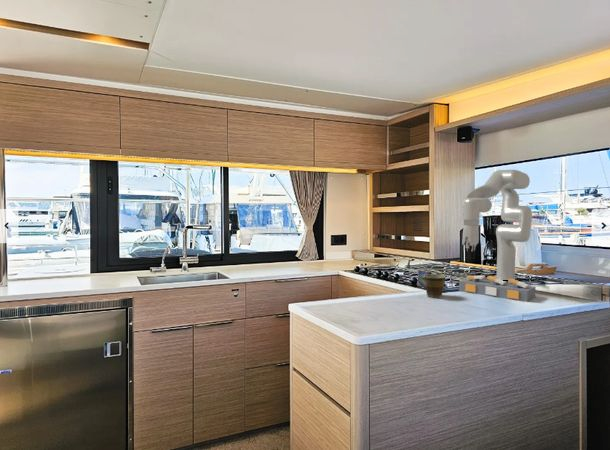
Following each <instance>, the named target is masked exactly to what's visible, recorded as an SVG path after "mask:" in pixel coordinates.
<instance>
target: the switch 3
mask: <svg viewBox="0 0 610 450" xmlns="http://www.w3.org/2000/svg"><path fill="white" fill-rule="evenodd" d="M507 283H512V284H515V285H518V286H521V287H524V288H527V287H528V286H529V284H527V283H525V282H522V281H519V280H515V279H512V278H511V279H509V280H508V281H507Z"/></svg>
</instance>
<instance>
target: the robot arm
mask: <svg viewBox="0 0 610 450" xmlns="http://www.w3.org/2000/svg"><path fill="white" fill-rule="evenodd" d="M530 182H531V181H530V176H529V175H528V174H527V173H526V172H523V171H521V170H517V169H498V170H495V171H493V173H492V174H491V175H490V177H488V179H487V180H486V182H485V183H484V184H483V185H481V186H478V187H476V188H474V189H473V190H471V191H469V192H468V193H467V194H466V195H465V197H464V199H463V200H462V203H461V205H462V209H463V228H462V229H463V230H462V240H461V241H462V243H461V244H462V246H465V248H466V251H467V253H466V254H467V255H466V259H469V260H474V259H476V257H475V255H476V247H477V245H478V244H479V242H480V241H479V240H480V234H479V233H480V231H479V227H480V213H488V212H490V210H492V207H493V204H492V201H491V200H490V198H494V197H496V196H497V195H498V194H500V193H501V195H502V203H501V209H500V218H501V220H502V221H503V222H506V223H503V224H499V225H498V226H497V227H496V228H495V229H496V230H495V236H496V244H497V247H496V248H497V251H496V253H497V254H496V255H497V256H496V274H495V275H493V277H496V278H498V279H501V280H509V279H511V278H512V279H514V278H516V277H517V276H516V256H517V255H516V254H517V253H516V250H517V249H516V246H515V245H514V243H513V242H518V243H526V242H528V241H529V239H530V237H531V230H532V220H533V212H532V211H533V210H532V209H531V207H530V206H528V205H519V203H520V202H519V201H520V196H519V193H518V192H517V191H516V190H525V189H527V188H528V187H529V185H530ZM507 222H508V223H509V224H508V223H507ZM510 223H511V224H510ZM512 223H519V224H512Z"/></svg>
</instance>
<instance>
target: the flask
mask: <svg viewBox="0 0 610 450" xmlns="http://www.w3.org/2000/svg"><path fill="white" fill-rule="evenodd" d="M427 268H428V267H427V266H426V267H425V266H424V267H423V268H422V269H420V268H419V269H417V286H418V287H421V288H424V287H423V286H425V282H424V280H423V279H422V278H419V277H423V278H424V275H426V274H432V271H430V270H428V269H427ZM418 278H419V279H418ZM418 281H419V282H420V283H421V284H422V285H423V286H422V285H421V284H420V283H419V282H418Z"/></svg>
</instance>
